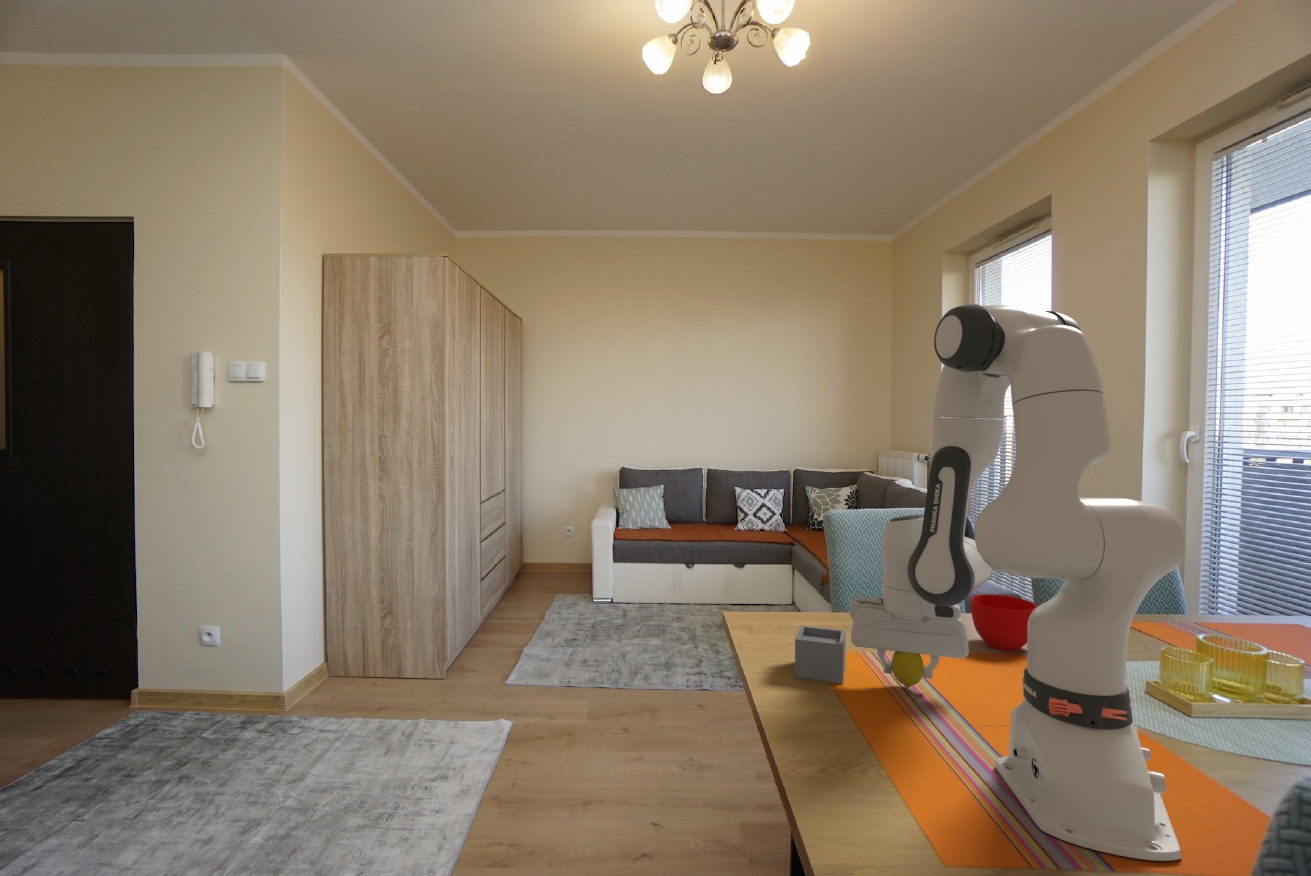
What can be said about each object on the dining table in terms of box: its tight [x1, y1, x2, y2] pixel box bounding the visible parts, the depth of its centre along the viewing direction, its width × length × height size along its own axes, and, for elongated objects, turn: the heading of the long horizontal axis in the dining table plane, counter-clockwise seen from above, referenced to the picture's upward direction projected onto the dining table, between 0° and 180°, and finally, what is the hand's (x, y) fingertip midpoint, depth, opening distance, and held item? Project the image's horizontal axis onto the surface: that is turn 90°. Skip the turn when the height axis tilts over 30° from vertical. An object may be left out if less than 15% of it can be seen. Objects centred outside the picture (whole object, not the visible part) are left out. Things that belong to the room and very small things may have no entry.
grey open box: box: [794, 625, 847, 685], centre depth 120 cm, size 9×9×8 cm
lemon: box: [891, 651, 925, 689], centre depth 112 cm, size 6×6×8 cm
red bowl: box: [970, 594, 1038, 652], centre depth 134 cm, size 13×17×10 cm
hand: (907, 674), depth 112 cm, fingers closed on lemon, 5 cm apart
